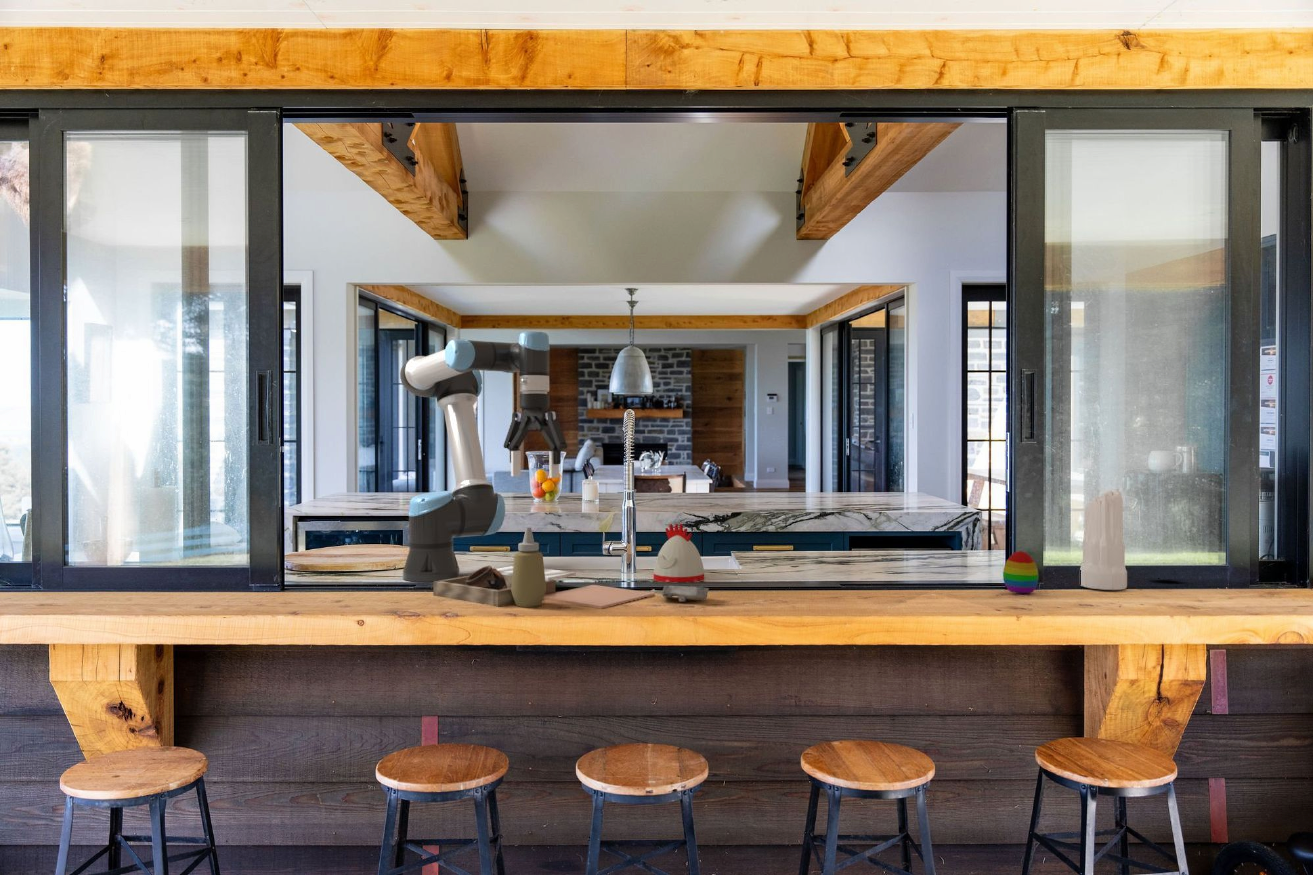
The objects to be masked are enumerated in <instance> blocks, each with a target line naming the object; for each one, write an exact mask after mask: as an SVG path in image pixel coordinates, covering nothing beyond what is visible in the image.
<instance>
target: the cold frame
mask: <svg viewBox="0 0 1313 875" xmlns="http://www.w3.org/2000/svg"><path fill="white" fill-rule="evenodd" d="M496 569H497V570H498V571H499V572H500V573H501V574H502V576H503V577H504V579H505V581H506V585H507V588H506V589H501V590H500V589H497V590H494V589H490V587H489V583H488V582H487V580H484V587H485V588H482V587H475V586H468V585H467V583H466V582H465V581H466V580H467V579H468V577H469V576H470V575H465V576H459V577H458V578H452V579H446V580H440V581H434V582H432V585H433V586H432V587H433V589H432V590H433V591H432V592H433V593H432V594H433V596H434V597H440V598H446V599H450V600H457V601H461V602H462V601H464V602H467V601H468V602H469V603H474V604H480V605H485V604H486V605H485V606H492V607H497V608H498V607H503V606H508V605H513V604H515V601H514V598H513V595H512V592H511V586H512V575H513V565H511V566H505V567H500V568H496ZM544 572H545V582H546V591H545V594H544V595H547V594H552V593H556V580H559V579H564V578H565V579H566V578H570V577H575V576H576V575H577V574H576V572H575V571H567V570H558V569H551V568H545V567H544ZM468 602H467V603H468Z"/></svg>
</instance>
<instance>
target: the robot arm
mask: <svg viewBox="0 0 1313 875" xmlns="http://www.w3.org/2000/svg"><path fill="white" fill-rule="evenodd" d="M549 340H550V338H549V334H548V333H546V332H543V331H522V332H521V333H520V334H519V338H518V342H501V341H485V340H470V339H465V338H463V339H461V338H460V339H452V340H450V341H449V342H448V344H447V345H446V346H445V349H442V350H439V351H438V352H437V351H436V352H433V353H432V354H428V355H426V356H425V355H416V356H414V357H411V358H409V359H407V360H406V361H405V362H404V363H403V364H402V365H401V367H400V373H399V378H400V382H401V383H402V385H403V387H404V388H405V389H406V390H407V392H409V393H411V394H413V395H415V396H418V397H423V398H436V403H437V407H439V408H440V409H442V410H443V412H444V418H445V425H446V430H447V436H448V443H449V448H450V455H451V459H452V460H451V461H452V467H453V472H454V479H455V484H456V487H455V488H454V489H453V490H451V491H449V490H440V491H433V492H432V491H431V492H425V493H420V494H417V495H415V496H413V497H412V498H411V499H410V500H409V509H408V510H409V511H408V526H409V527H408V528H409V529H408V531H409V533H408V536H409V539H408V541H409V542H408V545H409V550H408V554H407V556H406V557H407V558H406V561H405V564H404V568H403V570H402V579H403V580H404V581H408V582H417V583H418V582H419V583H421V582H423V583H425V582H426V583H427V582H429V583H430V582H431V583H433V582H434V581H440V580H446V579H452V578H458V577H461V576H460V573H461V572H460V567H459V564H458V560H457V557H456V554H455V551H454V538H464V537H465V538H467V537H468V538H469V537H477V536H479V537H480V536H481V537H484V536H488V535H494V534H496V533H498V532H499V530H501V528H502V526H503V523H504V520H505V515H506V504H505V499H504V498H503V496H502V495H501V494H500V493H497V492H495V490H494V485H493V484H492V483H490V482H489V481H488V480H487V476H486V474H487V473H486V470H485V464H484V459H483V454H482V453H483V452H482V447H481V441H480V436H479V430H478V424H477V419H476V413H475V408H474V405H475V404H476V402H477V401H478V397H479V396H480V395H481V394H482V390H483V389H482V388H483V387H482V385H483V379H482V373H481V371H487V372H490V371H491V372H503V373H507V374H508V373H509V374H510V373H511V374H514V373H519V392H520V393H521V394H519V409H521V412H512V415H511V422H510V426H509V428H508V432H507V434H506V436H505V439H504V443H503V448H504V449H507V450H508V451H509V464H510V476H511V477H521V475H522V463H521V462H522V460H521V459H522V455H521V454H522V451H521V449H520V447H521V445H522V444H523V442H524V441H525V439H526V437H527V436H528V433H529V432H531V431H538V432H540V433H541V434H542V436H543V438H544V439H545V441H546V443H547V445H548V446H549V449H550V450H549V453H548V454H549V455H548V461H549V462H548V465H549V470H548V472H549V478H550V479H555V478H560V465H561V461H562V460H561V457H562V456H561V455H562V454H561V452H562V451H563V450H565V449H567V448H568V444H567V441H566V438H565V436H564V433H563V431H562V428H561V425H560V422H559V418H558V417H559V416H558V412H557V411H548V409H549V408H550V395H549V394H548V393H549V392H550V349H551V348H550V341H549Z"/></svg>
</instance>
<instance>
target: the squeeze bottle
mask: <svg viewBox="0 0 1313 875" xmlns="http://www.w3.org/2000/svg"><path fill="white" fill-rule="evenodd" d="M524 530H525V532H524V536H523V540H522V542H520V543H518V547H517V548H518V552H516V553H515V554H514V556H513V565H512V566H513V575H512V586H511V592H512V595H513V598H514V601H515V603H514V604H515V605H516V606H517V607H520V608H534V607H538V606H541V605H542V603H543V601H544V600H543V597H544V594H545V591H546V582H545V572H544V568H545V567H544V566H545V565H544V563H545V562H544V555H543V553H542V552H541V551H539V546H540V544H539V542H535V539H534V535H533V531H532V527H525V529H524Z"/></svg>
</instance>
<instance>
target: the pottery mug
mask: <svg viewBox="0 0 1313 875" xmlns="http://www.w3.org/2000/svg"><path fill="white" fill-rule="evenodd" d="M497 569H498V568H495V567H494V568H493V567H492V566H491V565H486V566H483V567H481V568H478V569H477V570H476V571H473V573H472V574H470V575H468V576H469V577H468V579H467V580H466V581H465V582H466V583H467V585H468V586H475V587H482V588H486V587H484V580H487V582H488V583H489V586H490V587H489V589H494V590H501V589H506V588H507V585H506V581H505V579H504V577H503V576H502V574H501V573H500V572H499V571H498V570H497Z"/></svg>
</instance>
